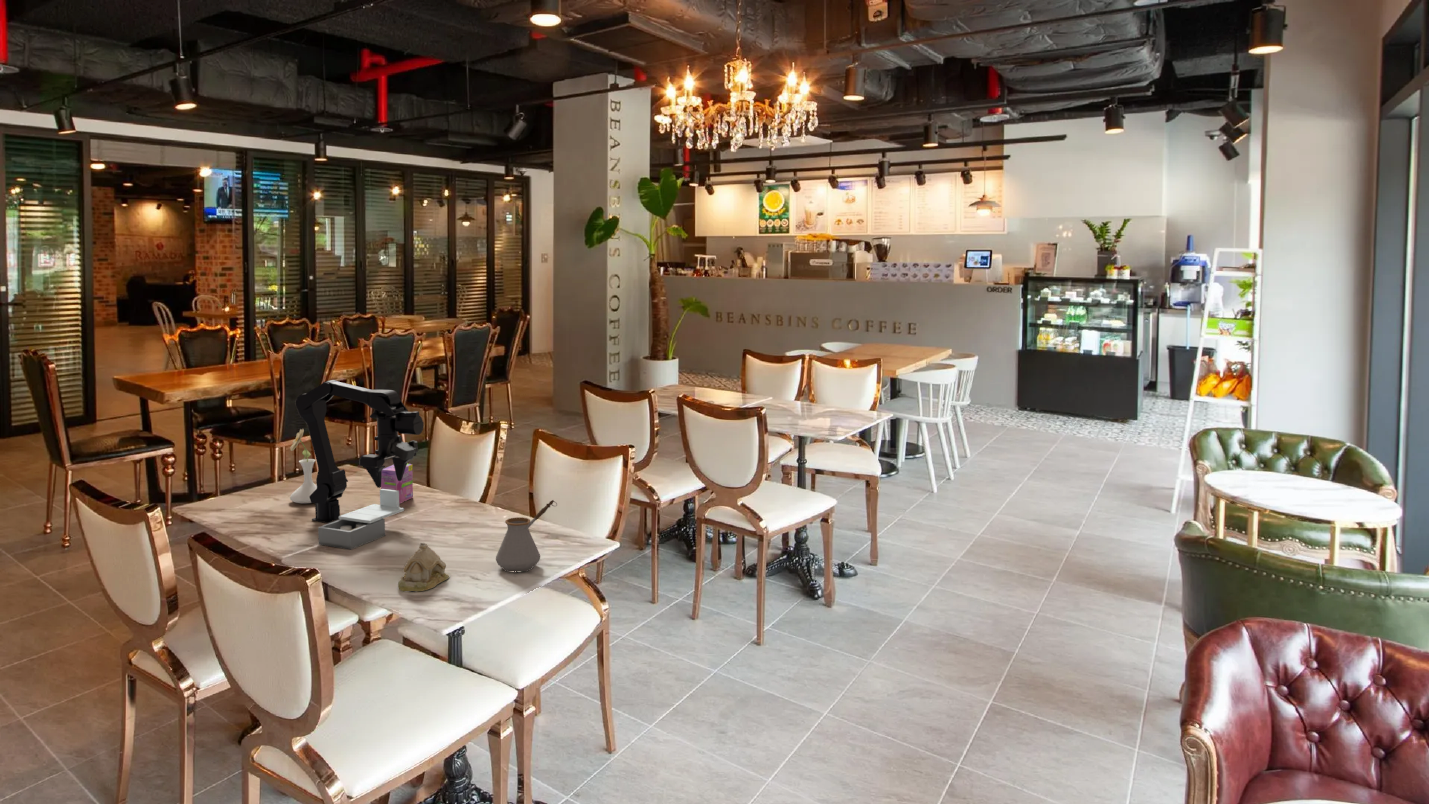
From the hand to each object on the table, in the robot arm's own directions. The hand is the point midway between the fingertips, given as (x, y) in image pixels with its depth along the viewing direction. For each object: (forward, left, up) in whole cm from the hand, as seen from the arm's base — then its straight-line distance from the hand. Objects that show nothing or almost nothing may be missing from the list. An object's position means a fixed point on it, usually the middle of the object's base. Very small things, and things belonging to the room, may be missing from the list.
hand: (389, 484), depth 263 cm
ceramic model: (+39, -36, -13) cm, 55 cm away
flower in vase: (-41, +10, -13) cm, 44 cm away
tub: (0, -16, -13) cm, 20 cm away
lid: (0, -7, -8) cm, 10 cm away
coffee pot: (+56, -13, -13) cm, 59 cm away
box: (-16, +23, -13) cm, 31 cm away
